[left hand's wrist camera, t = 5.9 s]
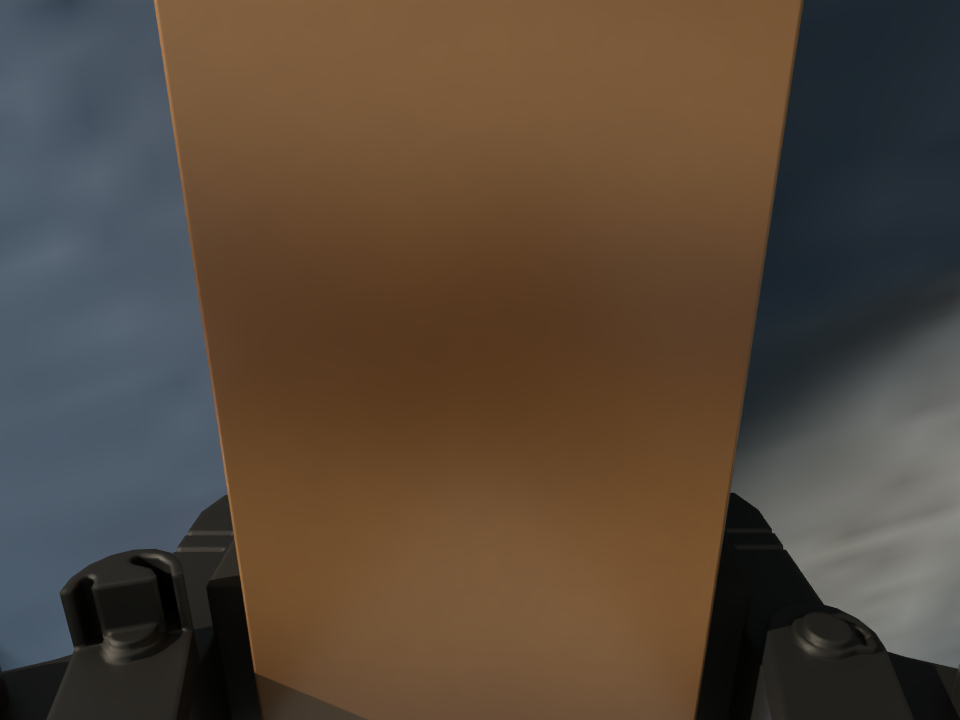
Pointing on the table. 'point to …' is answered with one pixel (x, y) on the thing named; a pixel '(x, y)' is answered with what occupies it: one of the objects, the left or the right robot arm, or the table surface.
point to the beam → (478, 336)
